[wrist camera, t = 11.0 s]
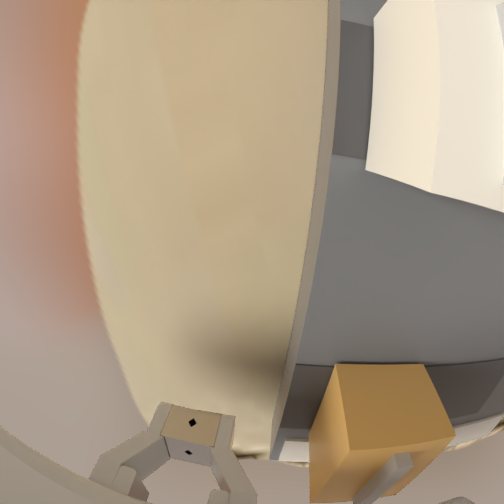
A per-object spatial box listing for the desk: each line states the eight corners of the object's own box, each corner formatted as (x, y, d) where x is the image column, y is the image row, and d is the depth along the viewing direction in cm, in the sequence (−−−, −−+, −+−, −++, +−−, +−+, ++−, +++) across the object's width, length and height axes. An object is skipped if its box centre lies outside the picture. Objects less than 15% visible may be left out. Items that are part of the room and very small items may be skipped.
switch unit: (568, 100, 7) (601, 102, 3) (476, 409, 15) (490, 437, 12) (328, -19, 8) (339, -60, 5) (272, 421, 16) (269, 464, 13)
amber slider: (422, 363, 10) (461, 448, 6) (382, 432, 12) (397, 504, 7) (335, 363, 10) (352, 467, 6) (308, 434, 12) (309, 514, 8)
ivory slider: (476, 58, 6) (566, 34, 1) (469, 194, 7) (567, 237, 3) (373, 18, 6) (435, -59, 2) (364, 169, 8) (448, 199, 3)
